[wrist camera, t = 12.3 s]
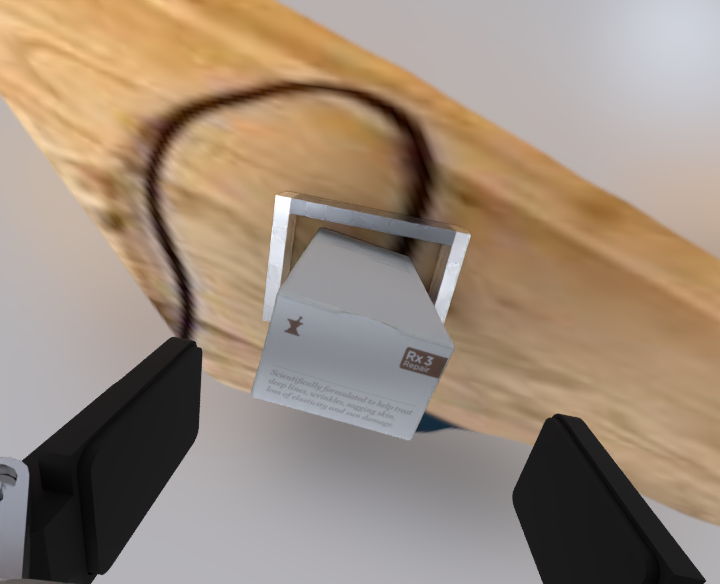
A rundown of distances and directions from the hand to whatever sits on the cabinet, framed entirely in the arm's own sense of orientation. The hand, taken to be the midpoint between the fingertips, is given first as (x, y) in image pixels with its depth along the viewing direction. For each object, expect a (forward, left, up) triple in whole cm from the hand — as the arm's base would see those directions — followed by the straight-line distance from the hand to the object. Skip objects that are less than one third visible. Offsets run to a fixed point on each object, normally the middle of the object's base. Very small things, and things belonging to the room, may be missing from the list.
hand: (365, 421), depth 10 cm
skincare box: (+1, 0, -14) cm, 14 cm away
